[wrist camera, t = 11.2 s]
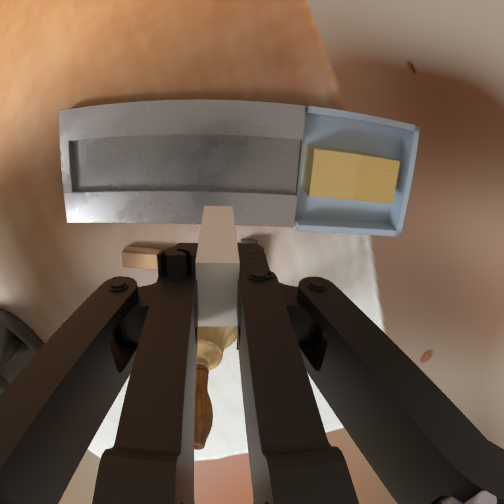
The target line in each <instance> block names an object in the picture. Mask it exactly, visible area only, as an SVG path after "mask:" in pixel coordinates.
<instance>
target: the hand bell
mask: <svg viewBox="0 0 504 504" xmlns="http://www.w3.org/2000/svg"><path fill="white" fill-rule="evenodd" d="M237 329H238V321H237V326H198V349H197V368H196V392H195V423H194V449H197V450H200V449H203V448H204V446H205V442H206V439H207V437H208V435H209V433H210V430H211V427H212V420H213V411H212V404H211V400H210V397H209V395H208V391H207V384H208V373H209V370H211V369H214V368H215V367H217V366H218V365H219V364H220V362H221V360H222V356H223V351H224V349H226V348H227V347H229V346H230V345H231V344H232V343H233V342H234V341H235V339H236V338H237Z"/></svg>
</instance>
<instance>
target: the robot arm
mask: <svg viewBox="0 0 504 504" xmlns="http://www.w3.org/2000/svg"><path fill="white" fill-rule="evenodd" d="M157 265H158V275H159V276H158V279H157V283H154V284H152V285H148V286H142V287H137V283H136V281H135V280H134V279H132V278H129V277H122V276H119V277H114V278H112V279H109V280H107V281H106V282H104V283H103V284H102V285H101V286H100V287H99V288H98V289H97V290H96V291H95V292H94V293H93V294H92V295H91V296H90V297H89V298H88V299H87V300H86V301H85V302H84V303H83V304H82V305H81V306H80V307H79V308H78V309H77V310H76V311H75V312H74V313H73V314H72V315H71V316H70V317H69V318H68V319H67V320H66V321H65V323H64V324H63V325H62V326H61V327H60V328H59V329H58V330H57V331H56V332H55V333H54V334H53V335H52V336H51V338H50V339H49V340H48V341H47V342H46V343H45V344H44V345H43V343H42V342H41V341H40V339H39V338H38V337H37V336H36V335H35V333H34V332H33V331H32V330H31V329H30V328H29V327H28V326H27V325H25V324H24V323H23V322H22V321H21V320H19V319H18V318H16V317H15V316H13V315H12V314H10V313H8V312H6V311H4V310H1V309H0V504H58V503H59V501H60V499H61V497H62V495H63V493H64V491H65V490H66V488H67V486H68V484H69V482H70V480H71V478H72V476H73V474H74V472H75V471H76V469H77V467H78V465H79V463H80V461H81V459H82V458H83V456H84V454H85V452H86V450H87V448H88V447H89V445H90V443H91V441H92V439H93V438H94V436H95V434H96V432H97V430H98V429H99V427H100V425H101V423H102V422H103V420H104V418H105V416H106V415H107V413H108V411H109V409H110V408H111V406H112V404H113V402H114V401H115V399H116V397H117V395H118V394H119V392H120V390H121V389H122V387H123V385H124V383H125V382H126V380H127V378H128V377H129V375H130V378H129V382H128V386H127V390H126V394H125V399H124V403H123V407H122V412H121V416H120V421H119V426H118V430H117V435H116V440H115V444H114V446H113V448H110V449H106V450H105V451H104V453H103V454H102V457H101V460H100V464H99V469H98V474H97V479H96V485H95V490H94V497H93V502H92V504H195V503H194V423H195V392H196V368H197V349H198V326H237V321H238V329H237V350H239V360H240V371H241V382H242V392H243V402H244V413H245V423H246V432H247V442H248V451H249V460H250V470H251V479H252V488H253V497H254V504H359V502H358V499H357V496H356V492H355V489H354V486H353V483H352V480H351V477H350V473H349V470H348V467H347V464H346V461H345V458H344V456H343V454H342V451H341V450H340V449H339V448H338V447H334V446H331V445H330V444H329V442H328V440H327V437H326V433H325V430H324V427H323V423H322V420H321V417H320V413H319V410H318V407H317V403H316V400H315V397H314V394H313V390H312V387H311V384H310V381H309V377H308V374H309V375H310V377H311V378H312V380H313V381H314V383H315V384H316V386H317V387H318V389H319V390H320V392H321V393H322V395H323V396H324V398H325V399H326V401H327V402H328V404H329V405H330V407H331V408H332V410H333V411H334V413H335V414H336V416H337V417H338V419H339V420H340V422H341V423H342V425H343V426H344V428H345V429H346V430H347V432H348V433H349V435H350V436H351V438H352V439H353V441H354V442H355V444H356V445H357V447H358V448H359V449H360V451H361V452H362V454H363V455H364V457H365V458H366V460H367V461H368V462H369V464H370V465H371V467H372V468H373V470H374V471H375V473H376V474H377V475H378V477H379V478H380V480H381V481H382V483H383V484H384V485H385V487H386V488H387V490H388V491H389V492H390V494H391V495H392V497H393V498H394V499H395V501H396V502H397V503H398V504H504V449H502V448H500V447H499V446H497V445H495V444H493V443H492V442H490V441H488V440H487V439H486V438H485V437H484V436H483V435H482V434H481V432H480V431H479V430H478V429H477V428H476V427H475V426H474V425H473V424H472V423H471V422H470V421H469V419H468V418H466V416H465V415H463V413H462V412H461V411H460V410H459V409H458V408H457V407H456V406H455V405H454V404H453V403H452V402H451V400H450V399H449V398H448V397H447V396H446V395H445V394H444V393H443V392H442V391H441V390H440V389H439V388H438V387H437V386H436V385H435V384H434V383H433V382H432V381H431V380H430V379H429V378H428V377H427V376H426V375H425V374H424V373H423V371H421V370H420V368H419V367H418V366H417V365H416V364H415V363H414V362H413V361H412V360H411V359H410V358H409V357H408V356H407V355H406V354H405V353H404V352H403V351H402V350H401V349H400V348H399V347H398V346H397V345H396V344H395V343H394V342H393V341H392V340H391V339H390V338H389V337H388V336H387V335H386V334H385V333H384V332H383V331H382V330H381V329H380V328H379V327H378V326H377V325H376V324H375V323H374V322H373V321H372V320H370V319H369V318H368V317H367V316H366V315H365V314H364V313H363V312H362V311H361V310H360V309H359V308H358V307H357V306H356V305H355V304H354V303H353V302H352V301H351V300H350V299H349V298H348V297H347V296H346V295H345V294H344V293H343V292H342V291H341V290H339V289H338V288H337V287H336V286H335V285H334V284H333V283H332V282H330V281H329V280H326V279H324V278H321V277H307V278H304V279H302V280H301V281H300V282H299V286H298V287H294V286H289V285H284V284H282V283H279V282H278V279H277V276H276V275H275V274H274V273H273V272H271V271H270V270H269V266H268V263H267V260H266V256H265V253H264V250H263V248H262V247H261V246H260V245H259V244H257V243H237V238H236V230H235V222H234V214H233V206H204V210H203V216H202V222H201V229H200V235H199V242H198V243H178V244H177V245H176V246H175V247H172V248H167V249H164V250H162V251H160V252H159V253H158V254H157ZM307 372H308V374H307ZM130 373H131V374H130Z"/></svg>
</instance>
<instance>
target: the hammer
mask: <svg viewBox="0 0 504 504" xmlns="http://www.w3.org/2000/svg"><path fill="white" fill-rule="evenodd" d="M241 243H257V244H258V242H257V240H244V239H241ZM162 250H164V249H158V248H144V247H129V246H126V247H125V249H124V250H123V252H122V259H123V267H131V268H143V269H156V270H158V265H157V254H158V253H159V252H160V251H162Z"/></svg>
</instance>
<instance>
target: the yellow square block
mask: <svg viewBox="0 0 504 504" xmlns="http://www.w3.org/2000/svg"><path fill="white" fill-rule="evenodd" d="M359 159H360V155H359V154H357V153H355V152H352V151H350V150H346V149H339V148H331V147H322V146H313V145H306V152H305V162H304V171H303V181H302V188H303V190H304V191H305V192H306V193H307V194H308V196H311V197H324V198H336V199H348V200H353V199H354V193H355V187H356V180H357V173H358V166H359Z"/></svg>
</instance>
